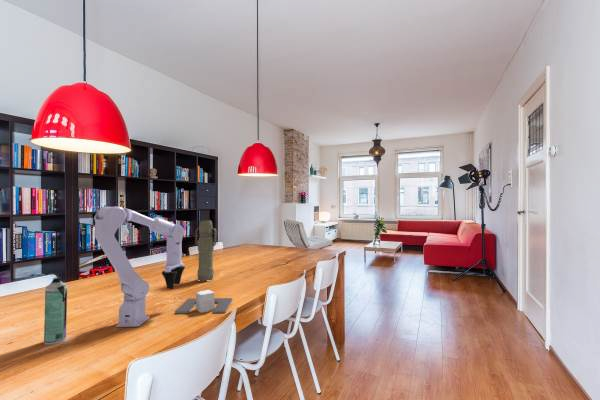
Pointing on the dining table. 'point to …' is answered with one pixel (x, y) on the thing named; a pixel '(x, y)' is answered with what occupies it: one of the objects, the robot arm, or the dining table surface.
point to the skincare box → (205, 301)
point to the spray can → (55, 312)
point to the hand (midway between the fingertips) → (173, 286)
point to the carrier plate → (220, 308)
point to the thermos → (205, 249)
